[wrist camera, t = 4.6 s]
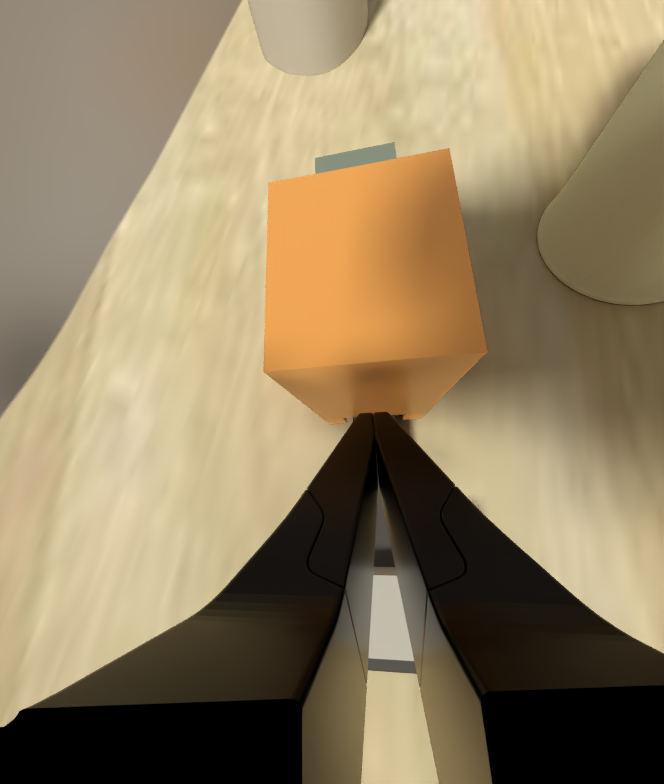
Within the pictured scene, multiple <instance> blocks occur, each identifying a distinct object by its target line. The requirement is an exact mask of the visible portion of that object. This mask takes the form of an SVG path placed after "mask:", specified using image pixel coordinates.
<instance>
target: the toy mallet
mask: <svg viewBox="0 0 664 784" xmlns="http://www.w3.org/2000/svg"><path fill="white" fill-rule="evenodd" d="M391 159H396V151H395V143H394V142H393V143H388V144H383V145H378V146H373V147H368V148H363V149H358V150H353V151H348V152H343V153H338V154H333V155H328V156H323V157H318V158H315V171H316V174H318V173H323V172H328V171H334V170H339V169H344V168H349V167H355V166H360V165H365V164H370V163H375V162H381V161H386V160H391ZM391 416H392V417H393V418H394V419H395V415H391ZM373 417H374V416H373ZM355 419H356V417H353V422H354V420H355ZM374 430H375V429H374ZM375 444H376V443H375ZM376 458H377V456H376ZM377 472H378V470H377ZM368 670H372V671H386V672H400V673H414V674H417V672H416V667H415V662H414V657H413V652H412V647H411V643H410V638H409V633H408V628H407V623H406V618H405V613H404V608H403V603H402V598H401V593H400V589H399V584H398V579H397V574H396V569H395V564H394V559H393V554H392V549H391V544H390V539H389V535H388V530H387V525H386V520H385V515H384V510H383V505H382V500H381V495H380V490H379V482H378V505H377V521H376V538H375V555H374V572H373V589H372V605H371V622H370V639H369V656H368Z"/></svg>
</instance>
